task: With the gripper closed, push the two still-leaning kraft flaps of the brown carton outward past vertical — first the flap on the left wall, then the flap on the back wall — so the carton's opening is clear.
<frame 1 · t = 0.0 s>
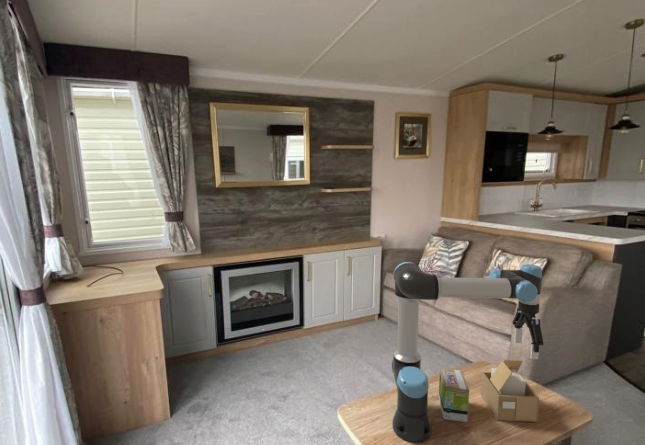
hand: (525, 350, 144), 28 cm above the table, fingers open, 13 cm apart
tea box: (452, 409, 149), on the table
carton: (507, 407, 151), on the table
flap left: (500, 376, 147), point 16 cm above the table, hinge at 61.0°
flap far: (510, 366, 154), point 16 cm above the table, hinge at 61.0°
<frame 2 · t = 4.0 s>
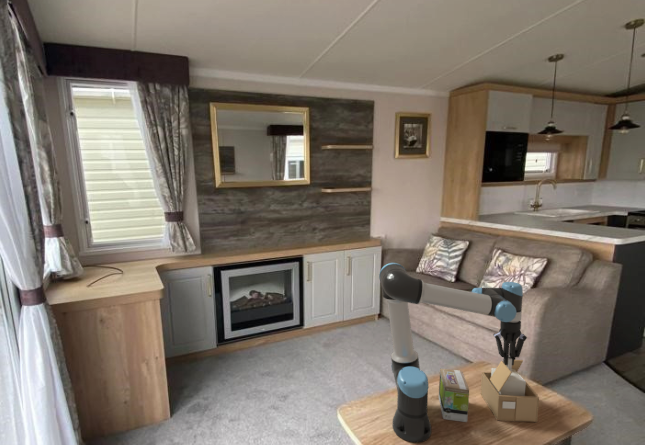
hand: (508, 371, 146), 18 cm above the table, fingers closed
flap left: (500, 376, 147), point 16 cm above the table, hinge at 63.0°, touching gripper
everything else where it was.
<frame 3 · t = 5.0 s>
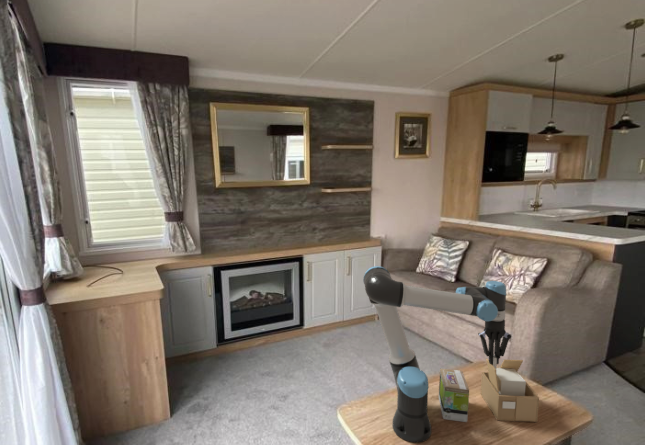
hand: (493, 370, 146), 18 cm above the table, fingers closed
flap left: (492, 374, 147), point 17 cm above the table, hinge at 100.9°, touching gripper
everything else where it was.
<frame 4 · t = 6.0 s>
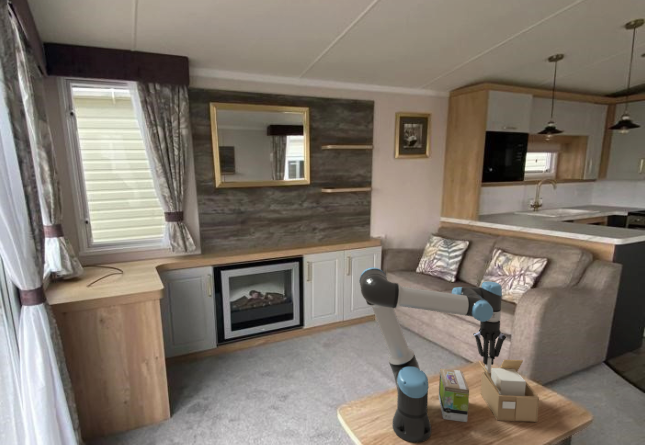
hand: (487, 371, 147), 18 cm above the table, fingers closed
flap left: (488, 375, 147), point 16 cm above the table, hinge at 119.9°, touching gripper
everything else where it was.
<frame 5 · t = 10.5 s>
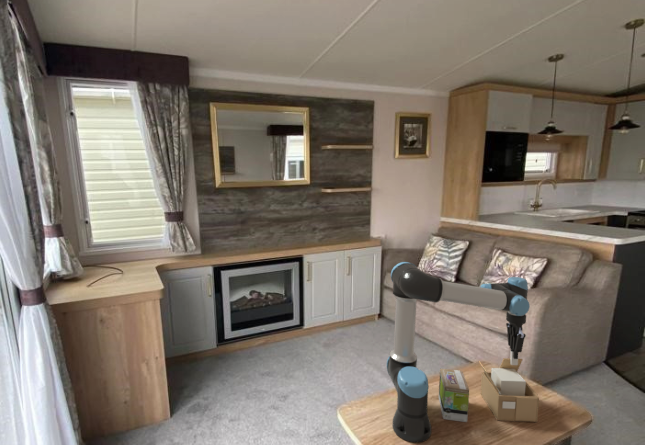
hand: (513, 364, 151), 18 cm above the table, fingers closed
flap left: (488, 375, 147), point 16 cm above the table, hinge at 120.8°
flap far: (510, 365, 154), point 16 cm above the table, hinge at 64.6°, touching gripper
everything else where it was.
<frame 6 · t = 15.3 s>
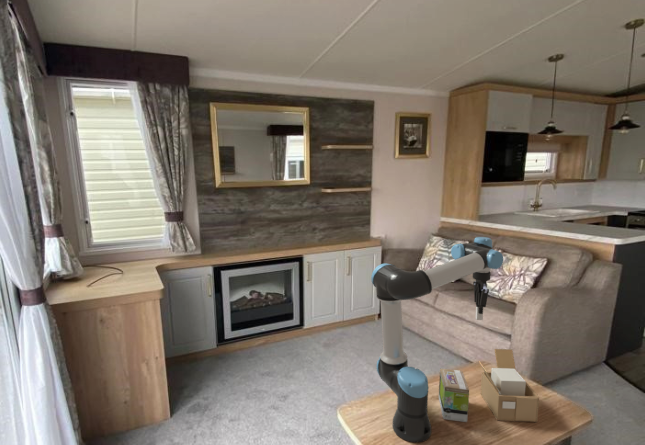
hand: (479, 319, 161), 34 cm above the table, fingers closed
flap far: (505, 360, 159), point 16 cm above the table, hinge at 119.8°
everything else where it was.
at the end: flap left at +121° (first picture: +61°); flap far at +120° (first picture: +61°) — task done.
